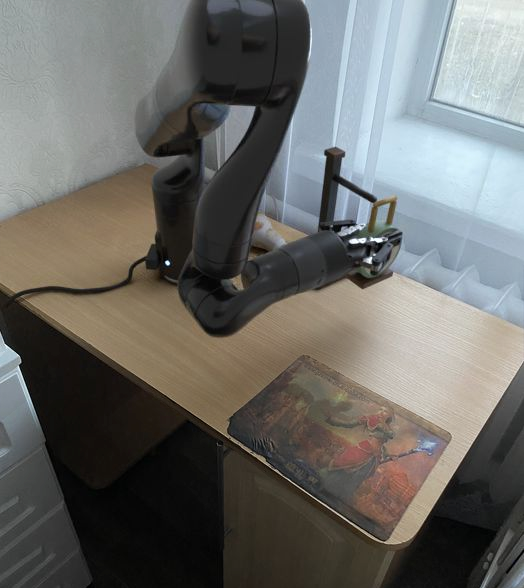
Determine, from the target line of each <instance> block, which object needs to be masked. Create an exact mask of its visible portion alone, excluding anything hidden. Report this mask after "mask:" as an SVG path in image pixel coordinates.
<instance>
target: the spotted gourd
mask: <svg viewBox="0 0 524 588" xmlns="http://www.w3.org/2000/svg"><path fill="white" fill-rule="evenodd" d="M286 244H288V242H287V241H286V240H285V238H284V237H282V236H281V235H280V234H278V232H277V231H276V229H275V228H274V226H273V224H272V223H271V221H270V219H269V218H268V217H267V216H266V215H265V214H264V213H262V212H260V211H258V215H257V219H256V223H255V228H254V233H253V238H252V243H251V247H253V248H254V247H255V248H259V249H260V248H261V249H263V250H265V251H267V252H271V251H273V250H276V249H278V248H280V247H282V246H284V245H286Z"/></svg>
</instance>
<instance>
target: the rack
mask: <svg viewBox="0 0 524 588" xmlns="http://www.w3.org/2000/svg"><path fill="white" fill-rule="evenodd" d="M323 151H324V152H323V156H324V157H325V165H324V172H323V173H324V174H323V183H322V189H321V190H322V191H321V200H320V208H319V216H318V217H319V218H318V225H317V233H318V232H319V227H320V223H321V222H329V221H335V213H336V207H337V199H338V192H339V185H340V186H342V187H344V188H345V189H347V190H349V191H351V192H352V193H354V194H356V195H358V196H359V197H361V198H363V199H364V200H365V201H368V202H369V203H370V204H373V203H375V202H378V197H377V196H376V195H374V194H373V193H371V192H369V191H367V190H365V189H364V188H362V187H360V186H358V185H357V184H355V183H353V182H351V181H349V180H348V179H346V178H344V177H343V176H341V170H342V162H343V158H345V157H346V151H345V150H343V149H341V148H339V147H337V146H333V147H329V148H326V149H324V150H323ZM354 270H355V269H350V270H348V271H347V272H346V273H345V274H344V275H343V276H342V277H340V278H338V279H336V280H333V281H331V282H329V283H326V284H324V285H322V286H319V287H317V288H315V289H316V290H320V289H322V288H325V287H327V286H329V285H331V284H333V283H336V282H338V281H340V280H343V279H345V278H346V277H347V273H349V272H351V271H354Z"/></svg>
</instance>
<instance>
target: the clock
mask: <svg viewBox="0 0 524 588" xmlns="http://www.w3.org/2000/svg"><path fill="white" fill-rule="evenodd" d="M397 202H398V197H397V196H396V195H391V196H389V197H386V198H382V199H381V200H377V202H375V203H372V206H371V211H370V215H369V221H368V223H366V224H367V225H366V226H364V227H363V228H362V229H361V230H360V232H359V233H358V235H357V237H358V238H359V239H362V238H366V237H372V238H373V239H374V238H378V237H383V236H384V235H386V234H389V233H391V232H394V231H397V230H399V229H398V228H397V227H396V226H394V225H393V221H394V217H395V216H394V215H395V212H396V208H397V207H396V206H397V204H398V203H397ZM388 204H389V207H388V210H387V211H388V212H387V215H386V220H384V219H382V220H381V219H377V216H378V212H379V208H380V207H383V206H385V205H388ZM402 244H403V238H402V239H401V243H400V245H398V246H395V247H393V249H392V253H391V257H390V260H389V261H388V263H387V264H386V265H385V266H384V268H383V269H382V270H381V271H380V272H379V274H378V275H376V276H374V275H371V274H370V270H371V269H368V268H365V267H360V268H357V269H355V270H354V271H351V272H349V273H347V277H345V278H346V279H347V280H349V281H350V282H352V283H353V284H354V285H356V286H357V287H358V288H360V290H365V289H367V288H369V287H372V286H374V285H377V284H378V283H380V282H383V281H385V280H387V279H389V278H391V277H393V275H394V271H393V270H391V269H390V267H391V266H392V265H393V264H394V262H395V260H396V258H397V257H398V255H399V253H400V250H401V247H402ZM376 248H378V245H376V247H375V249H376Z"/></svg>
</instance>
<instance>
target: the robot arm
mask: <svg viewBox="0 0 524 588" xmlns="http://www.w3.org/2000/svg"><path fill="white" fill-rule="evenodd" d="M309 13H310V12H309V11H308V7H307V6H306V4H305V3H304V1H303V0H189V2H188V3H187V6H186V8H185V10H184V13H183V17H182V19H181V23H180V26H179V29H178V34H177V37H176V41H175V44H174V48H173V51H172V53H171V55H170V57H169V58H168V61H167V63H165V65H164V67H163V68H162V70H161V71H160V73H159V74H158V77H157V79H156V81H155V83H154V86H152V89H151V90H150V91H149V92H148V93H147V94H146V95H144V96H143V97H141V98H139V100H138V101H137V104H136V106H135V110H134V117H133V118H134V120H133V125H134V133H135V137H136V139H137V142H138V144H139V146H140V148H141V150H142V151H143V152H144V153H145V154H146V155H147V156H149V157H151V158H159V159H160V158H169V157H175V159H174V160H173V161H171V162H170V163H168V164H166V165H164V166H163V167H161V168H159V169H157V171H155V172H154V173H153V175H152V177H151V180H150V181H151V191H152V192H151V193H152V199H153V208H154V216H155V224H156V231H155V233H154V243H150V246H149V249H148V251H147V253H146V255H145V256H143V257H141V258H139V259H137V260H135V261H134V262H133V263H132V264H131V265H130V267H129V269H128V275H127V277H126V278H125V279H124V280H123V281H121V282H119V283H117V284H115V285H111V286H104V287H91V288H74V287H73V288H72V287H67V286H60V285H59V286H58V285H47V286H41V287H40V286H39V287H33V288H28V289H24V290H21V291H18V292H16V293H14V294H13V295H11V296H10V297H9V298H8V299H7V300H6V301H5V302H4V303H3V305H2V307H1V308H3V309H6V308H8V307H9V306H10V305H11V303H12V302H13V301H15V300H17V299H18V298H20V297H22V296H25V295H29V294H34V293H39V292H47V291H59V292H67V293H72V294H90V293H103V292H109V291H113V290H116V289H119V288H121V287H124V286H126V285H127V284H128V283H130V282H131V280H132V278H133V273H134V270H135V268H136V267H137V266H139V265H141V264H143V263H145V269H146V270H150V271H158V276H159V279H160V280H161V279H162V280H165V281H166V282H169V283H170V284H174V285H177V294H178V298H179V300H180V303H181V304H182V305H183V307H184V308H185V309H186V311H187V312H188V313H189V314H190V316H191V317H192V318H193V319H194V321H195V322H196V323H197V325H198V326H199V327H200V329H201V331H203V332H204V333H205V334H206V335H207V336H208V337H211V338H215V339H225V338H229V337H232V336H234V335H236V334H237V333H239V332H240V331H242V330H243V329H244V328H245V327H246V326H248V324H249V323H250V322H252V321H253V320H254V319H255V318H257V317H258V316H259V315H260V314H262V313H263V312H264V311H265V310H267V309H268V308H269V307H271V306H273V305H274V304H277V303H279V302H281V301H284V300H286V299H288V298H291V297H293V296H296V295H300V294H303V293H304V294H305V293H307V292H309V291H312V290H314V289H316V288H317V287H319V286H322V285H324V284H326V283H329V282H331V281H333V280H336V279H338V278H340V277H342V276H343V275H344V274H345V273H346V272H347V271H348V270H350V269H357V268H360V267H365V268H368V269H371V270H370V274H371V275H374V276H376V275H378V274H379V272H380V271H381V270H382V269H383V268H384V266H385V265H386V264H387V263H388V261H389V260H390V257H391V253H392V249H393V247H395V246H398V245H400V243H401V239H402V240H403V231H402V230H400V229H398V230H397V231H394V232H391V233H389V234H386V235H384V236H383V237H378V238H374V239H373V238H372V237H366V238H362V239H359V238H358V237H357V235H358V233H359V232H360V230H361V229H362V228H363V227H364V226H366V225H367V224H368V223H363V222H360V223H357V221H356V220H355V219H342V220H334V221H329V222H321V223H320V227H319V232H318V231H317V232H315V233H312V234H310V235H307V236H304V237H302V238H298V239H296V240H293V241H290V242H287V244H286V245H284V246H282V247H280V248H278V249H276V250H273V251H271V252H269V251H267V252H265V253H263V254H260V255H257V256H255V257H252V258H250V259H249V257H250V252H251V249H252V248H251V247H252V246H251V243H252V238H253V233H254V228H255V223H256V219H257V215H258V212H260V207H261V202H262V200H263V198H264V194H265V191H266V188H267V186H268V183H269V181H270V179H271V176H272V173H273V171H274V168H275V165H276V163H277V161H278V158H279V156H280V153H281V150H282V148H283V145H284V143H285V140H286V138H287V134H288V132H289V128H290V126H291V123H292V120H293V119H294V115H295V113H296V110H297V108H298V104H299V102H300V100H301V96H302V93H303V89H304V87H305V83H306V80H307V76H308V72H309V68H310V67H309V66H310V62H311V56H312V47H313V46H312V45H313V30H312V21H311V17H310V14H309ZM232 106H237V107H254V112H253V114H252V117H251V120H250V122H249V124H248V126H247V129H246V131H245V132H244V134H243V137H242V138H241V139H240V141H239V143H238V144H237V146H236V147H235V148H234V150H233V151H232V153H231V154H230V155H229V157H228V158H227V159H226V161H224V163H223V164H222V165H221V166H220V167H219V169H218V170H217V171H216V173H214V175H213V176H212V177H211V179H210V180H209V181H208V183H207V184H206V183H205V182H206V181H205V180H206V169H205V168H206V166H205V165H206V164H205V152H206V151H205V149H206V148H205V147H206V146H205V145H206V143H205V142H206V137H208V136H209V135H211V134H212V133H213V132H215V131H217V130H218V128H220V127H221V126H222V125H223V124H224V123H225V122H226V120H227V118H228V117H229V114H230V113H231V110H232ZM205 184H206V185H205ZM380 220H383V219H380ZM345 227H346V228H345ZM342 228H345V229H344V230H342ZM376 245H378V248H376V249H375V247H376ZM239 276H240V281H241V284H242V288H243V289H238V288H237V286H236V285H235V284H234V283H233V282H232V279H234V278H237V277H239Z"/></svg>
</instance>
